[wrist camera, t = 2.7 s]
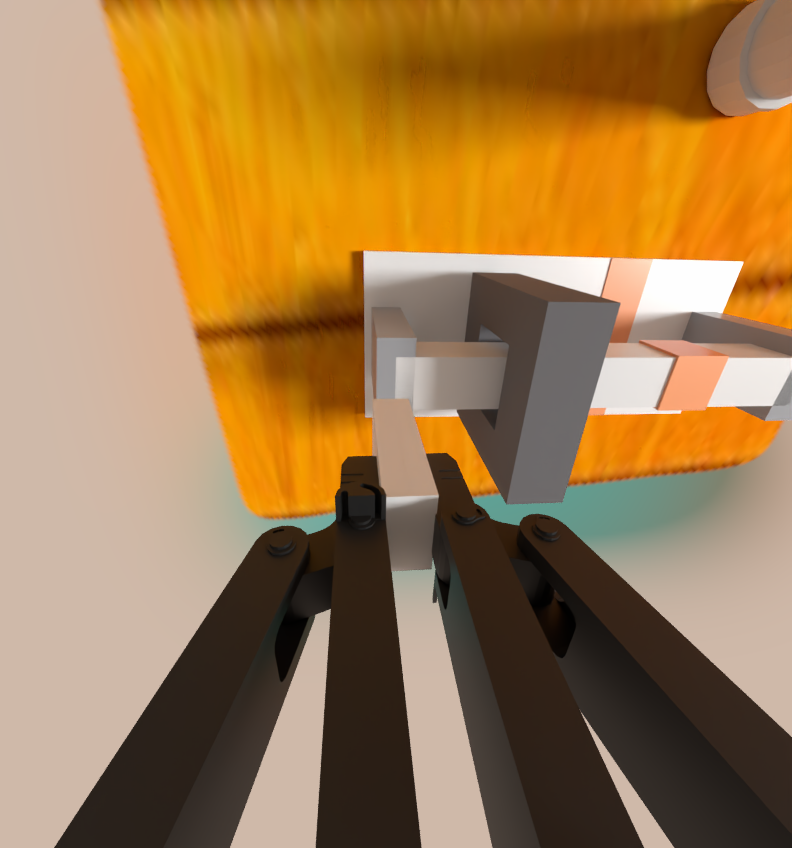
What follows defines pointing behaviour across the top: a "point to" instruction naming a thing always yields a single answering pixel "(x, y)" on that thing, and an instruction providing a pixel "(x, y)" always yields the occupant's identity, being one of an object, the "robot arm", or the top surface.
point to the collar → (536, 379)
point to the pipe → (753, 60)
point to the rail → (452, 290)
